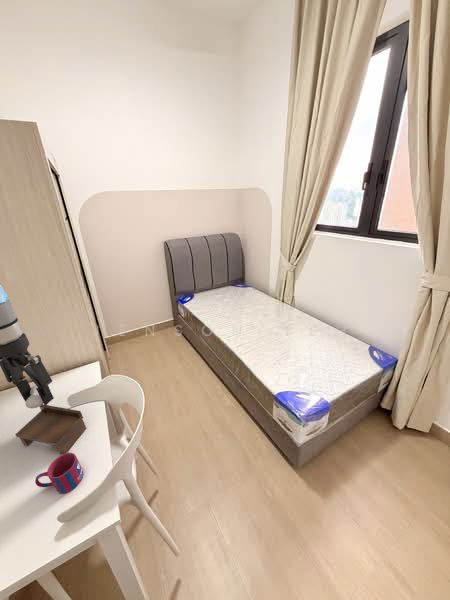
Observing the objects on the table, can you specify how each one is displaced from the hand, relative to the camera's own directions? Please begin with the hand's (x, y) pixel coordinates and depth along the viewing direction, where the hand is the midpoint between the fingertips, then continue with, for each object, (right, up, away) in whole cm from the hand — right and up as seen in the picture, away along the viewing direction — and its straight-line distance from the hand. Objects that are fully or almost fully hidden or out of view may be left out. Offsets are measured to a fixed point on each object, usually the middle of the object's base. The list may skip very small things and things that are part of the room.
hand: (39, 399), depth 74 cm
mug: (+13, -20, -8) cm, 25 cm away
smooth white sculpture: (0, 0, 0) cm, 1 cm away
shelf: (+2, -14, +4) cm, 15 cm away
